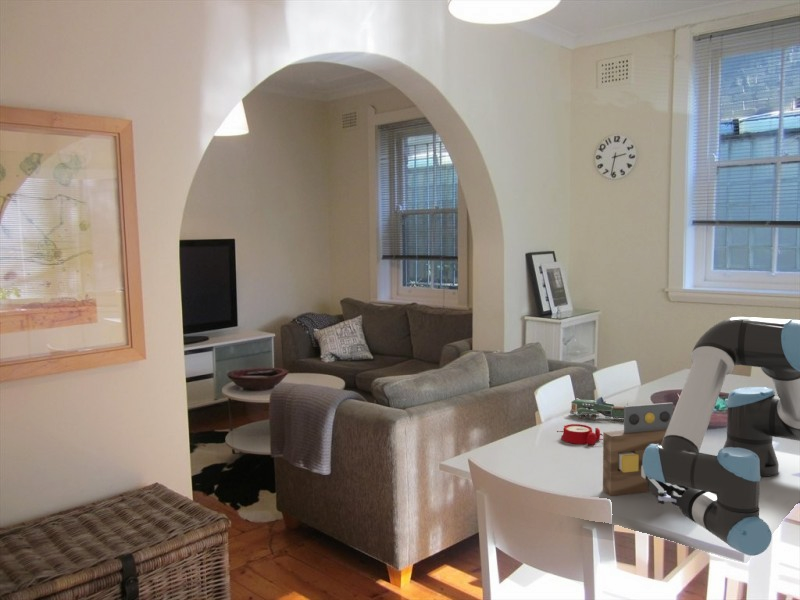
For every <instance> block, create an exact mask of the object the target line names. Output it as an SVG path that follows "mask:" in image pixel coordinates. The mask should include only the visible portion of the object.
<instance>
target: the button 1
mask: <svg viewBox="0 0 800 600" xmlns="http://www.w3.org/2000/svg"><path fill="white" fill-rule="evenodd" d="M638 466H639V455H637V454H634V453H633V452H631V451H630V452H620V453H618V469H620V470H621V471H622V472H634V471H638Z"/></svg>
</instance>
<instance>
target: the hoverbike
mask: <svg viewBox="0 0 800 600" xmlns="http://www.w3.org/2000/svg"><path fill="white" fill-rule="evenodd" d="M628 403H629V402H628V401H627V402H626V406H629V405H628ZM570 404H571V409H570V411H569V414H570V415H575V414H576V415H578V416H581V417H580V418H581V419H582V418H583V419H585V417H586V416H587V417H589V416H590V415H591V416H590V417H591V419H592V420H596V419H597V416H596V415H602V416H603V417H604V416H605V418H606V419H611V418H613V420H614V421H616V420H617V421H619V420H620V421H622V422H624V406H618V405H617V406H615V404H614V403H611V402H607V401H606V400H604V398H603V397H602V396H599V397H598V398H597V399H596V400H594V399H593V400H592V399H579V398H577V397H576V399H574V400H572V401H571V402H570Z"/></svg>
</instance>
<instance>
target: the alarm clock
mask: <svg viewBox="0 0 800 600" xmlns="http://www.w3.org/2000/svg"><path fill="white" fill-rule="evenodd" d="M556 432H557V433H562V435H561V440H562V441H563V442H566V443H570V444H575V445H585V444H587V446H594V445H595V444H596V443H597V442H598V441H599V440H600V441H602V440H603V438H601V436H603V434H602V433H601V431H600V429H599V427H595V432H593V428H592V427H591V426H589V425H586V424H581V423H579V424H578V423H575V424H574V423H573V424H566V425H564V426H563V430H560V431H559V430H556ZM597 440H598V441H597ZM593 444H594V445H593Z"/></svg>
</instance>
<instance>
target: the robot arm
mask: <svg viewBox="0 0 800 600" xmlns="http://www.w3.org/2000/svg"><path fill="white" fill-rule="evenodd" d="M690 360H691V367H690V369H689V372H688V374H687V377H686V379H685V382H684V385H683V387H682V390H681V393H680V394H679V398H678V399H677V402H676V404H675V408H674V409H673V415H672V417H671V420H670V423H669V425H668V428H667V430H666V433H665V435H664V438H663V441H662V443H661V445H659V444H649V445H648V447H646V449H645V451H644V454H643V461H642V466H641V476H642V477H643V478H645V479H646V480H647V481H648V489H649V490H650V491H651V493H652V494H653V495H654V497H655V498H656V500H657V502H658V503H657V504H659V505H664V504H665V503H667V502H670V503H671V504H672V505H674V506H676V507H679V509H680V511H681V512H682V514H683V515H684V516H685V517H686V518H687V519H689V520H691V521H692V522H694V523H695V524H697V525H698V526H700V527H702V528H703V529H705V530H707V531H708V532H709V533H710V534H712V535H713V536H715V537H717V538H718V539H720V540H721V541H723V543H725V544H727V545H728V546H729V547H730V548H731V549H734V550H736V551H738V552H740V553H742V554H744V555H747V556H752V557H753V556H758V555H760V554H763V552H765V551H767V550H768V548H769V546H770V545H771V542H772V530H771V528H770V526H769V524H768V523H767V522H766V521H764V519H762V518H761V517H760V507H759V506H760V483H761V478H762V477H771V476H775V475H778V473H779V461H778V458H777V455H776V452H775V449H774V445H773V438H779V439H787V440H791V441H797V442H800V319H798V318H797V319H796V318H791V319H789V318H788V319H786V318H771V317H770V318H767V317H753V316H751V317H750V316H733V317H730V318H727V319H723V320H722V321H719V322H718V323H715V324H714V325H712V326H711V327H710V328H709V329H707V331H705V332H704V333H703V334H702V335H701V337H699V339H698V340H697V342H696V343H695V345H694V347H693V349H692V351H691V354H690ZM735 366H744V367H745V366H747V367H753V368H754V367H755V368H756V367H757V368H760V369H761V371H762V373H764V375H766V376H767V377H769V378H771V379H772V382H773V386H774V388H771V387H765V386H750V387H749V386H747V387H739V388H735V389H733V390H731V391H730V392H729V393H728V395H727V396H728V398H727V404H726V408H727V409H726V410H727V411H726V412H727V415H726V419H727V421H726V440H725V442H724V445H723V447H722V448H720V449H719V450H718V452H717V455H715V454H711V453H710V454H709V453H706V452H705V453H703V452H700V451H701V450H700V449H701V446H702V445H703V444H702V443H703V441H704V438H705V437H706V433H707V430H708V427H709V425H710V422H711V419H712V416H713V413H714V410H715V407H716V404H717V402H718V399H719V396H720V394H721V391H722V387H723V385H724V382H725V379H726V376H728V375H729V374H731V373H732V372H733V370H734V368H735ZM774 389H775V390H774ZM775 391H776V392H775ZM775 393H777V394H775Z"/></svg>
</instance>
